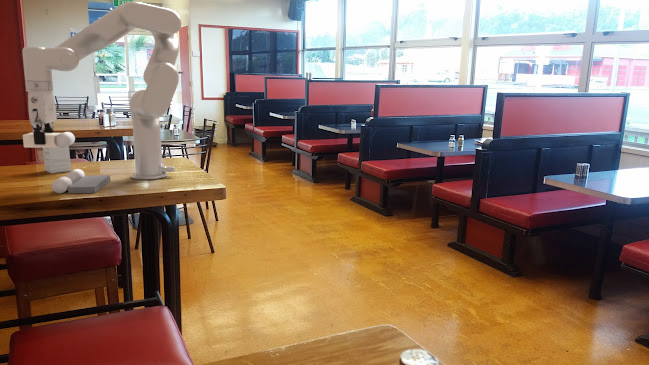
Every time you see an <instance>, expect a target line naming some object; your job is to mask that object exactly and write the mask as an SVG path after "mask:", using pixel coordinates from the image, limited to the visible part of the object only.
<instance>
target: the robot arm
mask: <svg viewBox="0 0 649 365" xmlns="http://www.w3.org/2000/svg"><path fill="white" fill-rule="evenodd" d="M181 27H182V19H181V17H180V15H179V14H178V13H177V11H175V10H173V9H170V8H167V7H161V6H157V5H153V4H148V3H145V2H141V1H135V0H133V1H132V0H131V1H128V2H125V3H122V4H120V5H118V6H116V7H114V8H113V9H112V10H110V11H109V12H107V13H105V14H104V15H103V16H101V17H100V18H98V19H96V20H95V21H93V22H92V23H90V24H88V25H87V26H86V27H85V28H83V29H82V30H80V31H78V32H77V33H76V34H74V35H72V36H71V37H69V38H67V39H66V40H65V41H63V42H61V43H60V44H58V45H57V46H55V47H46V46H45V47H44V46H32V45H30V46H24V47H23V48H22V60H23V71H24V73H23V74H24V80H25V84H24V85H25V92H27V98H28V99H27V102H28V103H27V105H28V116H29V123H30V125H31V128H32V133H33V135H34V144H35V145H45V144H46V140H45V133H55V132H54V122H56V121H57V118H58V117H57V109H56V103H55V98H54V85H53V73H52V71H53V70H54V71H58V72H71V71H73V70H75V69H77V67H78V66H79V63H80V61H81V60H83V59H84V58H87V57H88V56H90V55H92V54H93V53H96V52H99V51H102V50H104V49H106V48H108V47H110V46H111V45H113V44H115V43H116V42H117V41H119V40H120V39H122V38H123V37H124V36H126V35H128V34H129V33H130V32H132V31H133V30H135V29H141V30H145V31H150V32H151V35H152V37H153V39H154V40H153V41H154V46H153V49H152V52H151V55H150V56H149V60H148V62H147V65H146V67H145V69H144V72H143V81H144V83H145V84H146V85H147V86H146V87H145V89H139V90H137V91H136V92H134V93H133V94H132V96H131V97H130V100H129V110H130V116H131V121H132V123H131V124H132V133H133V134H132V135H133V136H132V137H133V151H134V152H133V153H134V172H132V173H131V174H130V176H131V178H132V179H135V180H157V179H162V178H166V177H167V176H168V173H174V172H175V166H173V165H172V166H171V165H170V166H166V165H165V163H164V162H163V153H162V152H163V150H162V130H161V129H162V128H161V123H160V122H161V120H160V118H162V117H163V116H164V115H165V114H166V113H167V111H168V109H169V107H170V105H171V102H172V101H173V98H174V95H175V94H176V90H177V87H178V85H179V80H180V76H179V75H180V74H179V71H178V70H177V68H176V66H175V65H176V62H177V58H178V55H179V51H180V43H179V40H178V36H177V34H178V33H179V31H180V30H181Z"/></svg>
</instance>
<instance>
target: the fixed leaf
mask: <svg viewBox="0 0 649 365" xmlns="http://www.w3.org/2000/svg"><path fill="white" fill-rule="evenodd" d="M109 182H111V175H109V174H107V175H103V174H101V175H100V174H99V175H85V172H84V170H82V169H80V168H75V169H73V170H71V171H68V173H67V174H66V176H61V177H59V178H58V179H56V180H53V182H52V183H51V189H52V191H53V192H54V193H56V194H63V193H65V192H66V191H68V194H96V193H97V192H99V191H100V190H101V189H102V188H103V187H105V186H106V185H107V184H108V183H109Z"/></svg>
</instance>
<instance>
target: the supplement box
mask: <svg viewBox="0 0 649 365" xmlns="http://www.w3.org/2000/svg"><path fill="white" fill-rule="evenodd" d="M42 153H43V162H44V171H46V172H47V173H49V174H57V173H65V172H71V171H72V168H71V167H72V166H71V165H72V164H71V156H70V145H69V146H66V147H64V148H60V147H58V148H42Z"/></svg>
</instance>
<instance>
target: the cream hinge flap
mask: <svg viewBox="0 0 649 365" xmlns="http://www.w3.org/2000/svg"><path fill="white" fill-rule="evenodd" d="M22 140H23V141H22V143H23V148H25V149H26V148H32V149H34V148H35V149H36V148H41V149H43V148H58V147H60V148H64V147H66V146H69V147H70V146H71V145H73V144H74V143H75V142H76V141H75V140H76V137H75V135H74V133H72V132H71V131H65V132H54V133H45V140H46V144H45V145H35V144H34V135H33V132H29V133H26V134H22Z"/></svg>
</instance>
